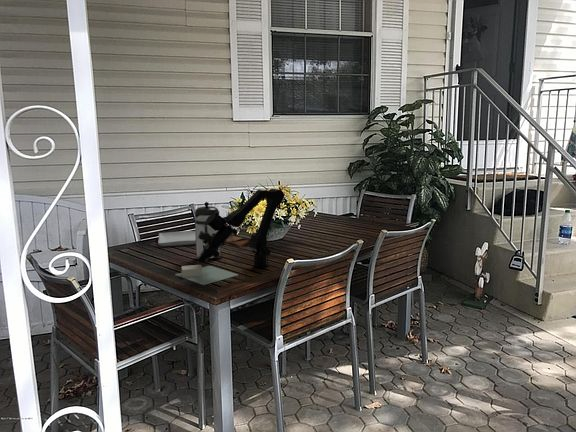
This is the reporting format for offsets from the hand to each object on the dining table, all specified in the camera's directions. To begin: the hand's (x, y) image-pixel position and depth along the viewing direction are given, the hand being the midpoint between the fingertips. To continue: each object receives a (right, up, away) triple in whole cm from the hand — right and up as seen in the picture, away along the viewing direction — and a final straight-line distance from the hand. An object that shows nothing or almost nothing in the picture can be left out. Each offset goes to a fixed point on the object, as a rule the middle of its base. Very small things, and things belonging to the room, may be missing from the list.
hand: (198, 261), depth 213 cm
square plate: (-23, +5, +69) cm, 73 cm away
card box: (+2, -4, +1) cm, 5 cm away
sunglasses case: (+11, +4, +62) cm, 63 cm away
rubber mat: (+4, -7, 0) cm, 8 cm away
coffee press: (0, -1, +31) cm, 31 cm away
